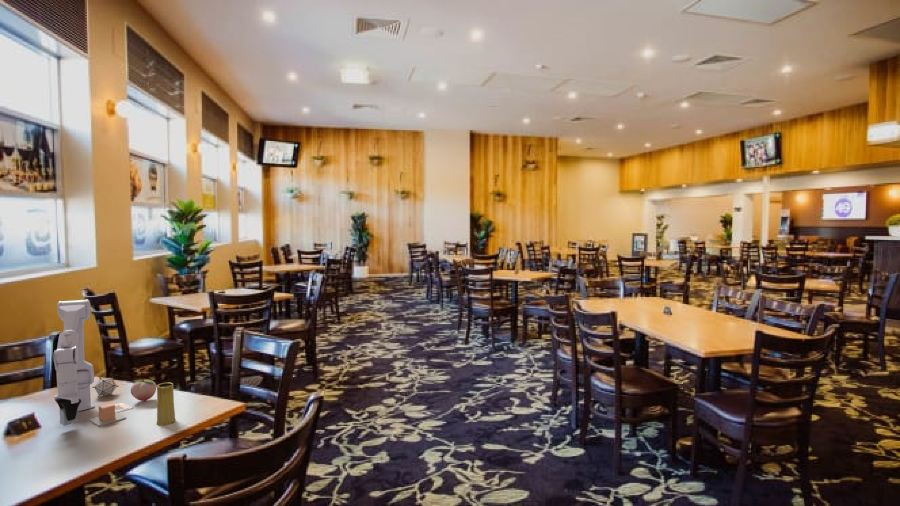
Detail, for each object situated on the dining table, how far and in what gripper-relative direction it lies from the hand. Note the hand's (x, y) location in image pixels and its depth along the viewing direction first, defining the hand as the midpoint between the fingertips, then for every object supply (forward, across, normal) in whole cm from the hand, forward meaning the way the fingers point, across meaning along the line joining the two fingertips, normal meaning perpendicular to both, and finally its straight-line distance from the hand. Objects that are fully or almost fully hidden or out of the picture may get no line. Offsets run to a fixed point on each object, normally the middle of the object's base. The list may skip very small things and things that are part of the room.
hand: (68, 418), depth 178 cm
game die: (+5, -30, +22) cm, 37 cm away
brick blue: (+2, 0, 0) cm, 2 cm away
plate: (+4, 0, +12) cm, 13 cm away
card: (+4, -10, +19) cm, 22 cm away
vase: (+4, +20, +24) cm, 32 cm away
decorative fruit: (+5, -10, +29) cm, 31 cm away
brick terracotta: (+4, 0, +12) cm, 12 cm away
